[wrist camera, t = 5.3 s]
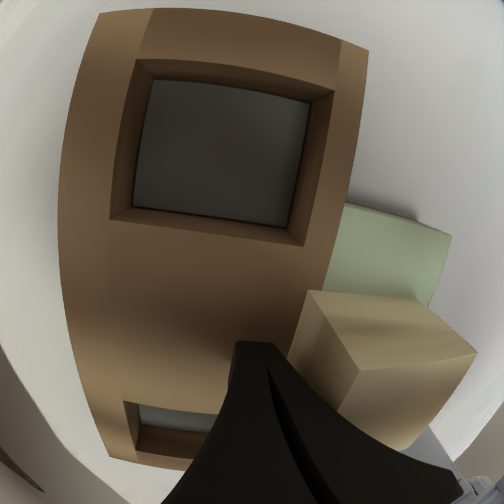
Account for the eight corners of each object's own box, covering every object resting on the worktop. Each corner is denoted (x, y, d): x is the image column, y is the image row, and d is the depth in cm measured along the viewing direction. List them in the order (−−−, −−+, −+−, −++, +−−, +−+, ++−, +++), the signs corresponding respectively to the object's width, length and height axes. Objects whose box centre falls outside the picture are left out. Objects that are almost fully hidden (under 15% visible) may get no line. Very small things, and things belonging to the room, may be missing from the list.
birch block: (372, 388, 11) (408, 447, 7) (274, 394, 10) (294, 473, 7) (416, 298, 10) (478, 352, 6) (308, 289, 9) (359, 370, 5)
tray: (319, 441, 16) (328, 466, 14) (116, 429, 14) (109, 456, 11) (435, 115, 10) (471, 113, 7) (121, 38, 7) (99, 13, 5)
